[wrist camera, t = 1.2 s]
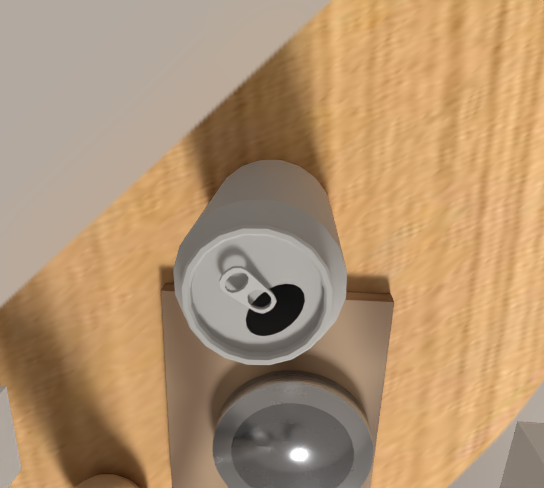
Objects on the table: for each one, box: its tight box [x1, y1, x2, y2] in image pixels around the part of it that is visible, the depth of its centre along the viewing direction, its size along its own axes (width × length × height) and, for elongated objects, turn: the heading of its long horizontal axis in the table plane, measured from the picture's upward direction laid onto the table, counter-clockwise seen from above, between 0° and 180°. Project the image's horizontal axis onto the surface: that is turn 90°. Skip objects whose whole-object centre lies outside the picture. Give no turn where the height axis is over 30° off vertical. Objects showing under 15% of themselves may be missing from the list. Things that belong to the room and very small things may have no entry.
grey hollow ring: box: [212, 370, 373, 488], centre depth 33 cm, size 11×11×2 cm
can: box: [173, 160, 347, 365], centre depth 24 cm, size 8×8×12 cm
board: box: [161, 283, 394, 488], centre depth 34 cm, size 15×17×1 cm
